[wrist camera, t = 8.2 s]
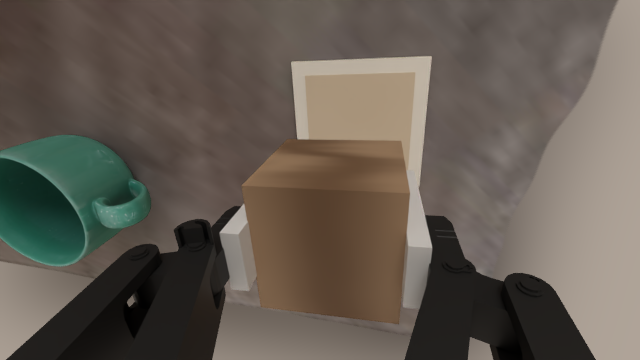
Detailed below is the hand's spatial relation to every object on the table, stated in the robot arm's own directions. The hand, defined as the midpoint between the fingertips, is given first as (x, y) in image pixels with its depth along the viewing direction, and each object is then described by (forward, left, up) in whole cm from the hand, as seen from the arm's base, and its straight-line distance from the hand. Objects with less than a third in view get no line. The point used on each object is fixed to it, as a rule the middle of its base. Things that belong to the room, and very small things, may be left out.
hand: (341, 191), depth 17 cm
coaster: (0, 0, -14) cm, 14 cm away
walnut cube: (0, 0, 0) cm, 0 cm away
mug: (-29, -7, -14) cm, 33 cm away
